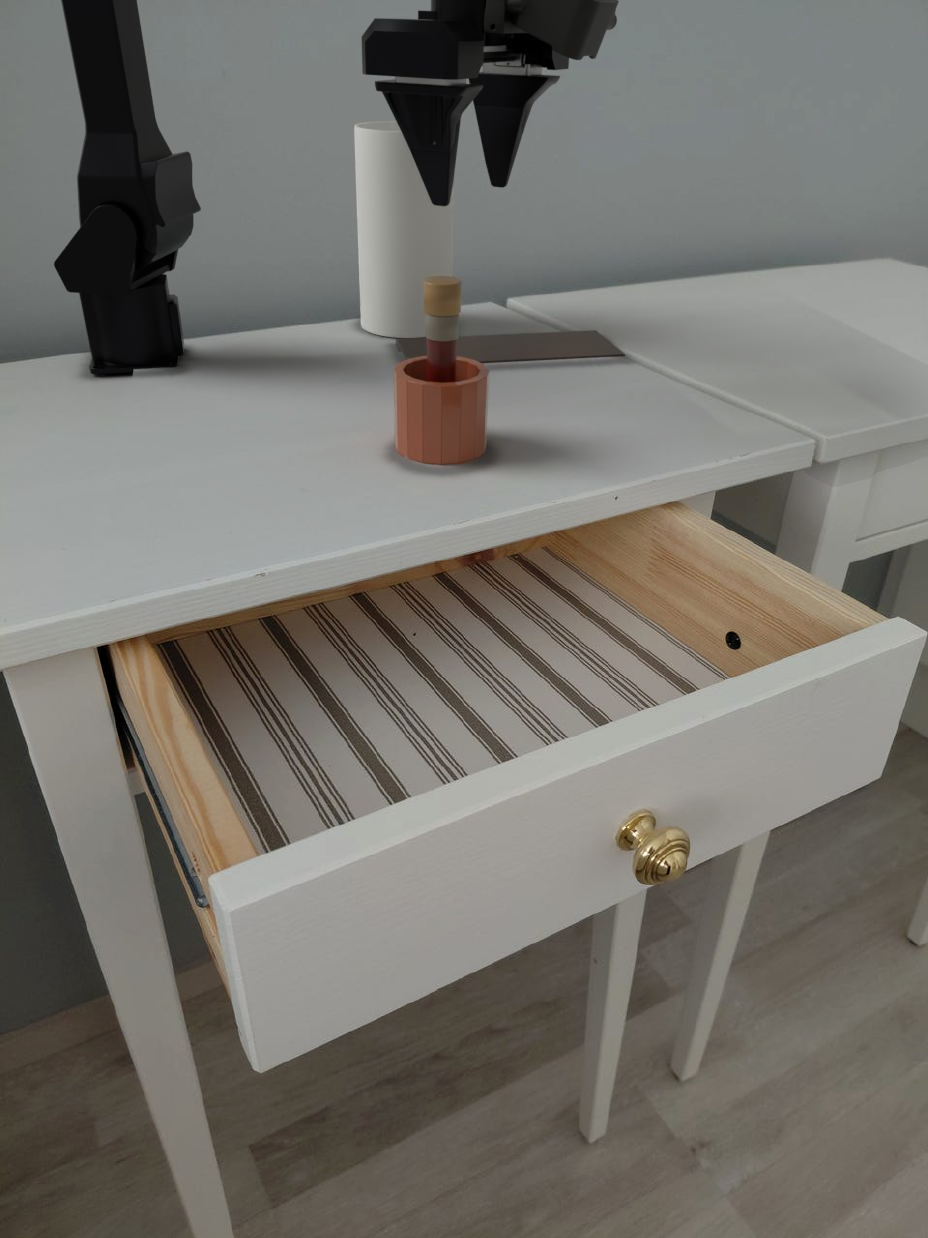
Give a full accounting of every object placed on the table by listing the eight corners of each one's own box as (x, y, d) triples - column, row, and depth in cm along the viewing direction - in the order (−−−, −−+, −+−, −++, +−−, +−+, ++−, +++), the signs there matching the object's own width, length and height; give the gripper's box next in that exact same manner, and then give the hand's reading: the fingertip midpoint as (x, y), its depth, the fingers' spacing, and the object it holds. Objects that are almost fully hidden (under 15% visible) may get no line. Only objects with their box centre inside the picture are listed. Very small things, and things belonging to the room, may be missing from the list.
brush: (427, 453, 59) (427, 285, 53) (420, 440, 60) (420, 276, 55) (461, 451, 59) (465, 284, 53) (453, 438, 61) (456, 275, 55)
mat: (410, 372, 73) (410, 364, 73) (395, 345, 79) (395, 338, 79) (624, 361, 77) (625, 354, 77) (595, 336, 83) (596, 329, 82)
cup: (440, 341, 80) (443, 133, 71) (349, 333, 81) (340, 128, 73) (459, 316, 87) (464, 123, 78) (375, 309, 88) (370, 118, 79)
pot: (404, 474, 57) (403, 387, 54) (389, 438, 62) (387, 356, 59) (495, 467, 58) (499, 382, 55) (473, 433, 63) (476, 352, 60)
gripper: (548, -112, 45) (528, 231, 54) (656, -79, 59) (626, 188, 68) (351, -108, 49) (361, 211, 57) (496, -78, 63) (487, 175, 72)
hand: (471, 195), depth 63 cm, fingers open, 9 cm apart
